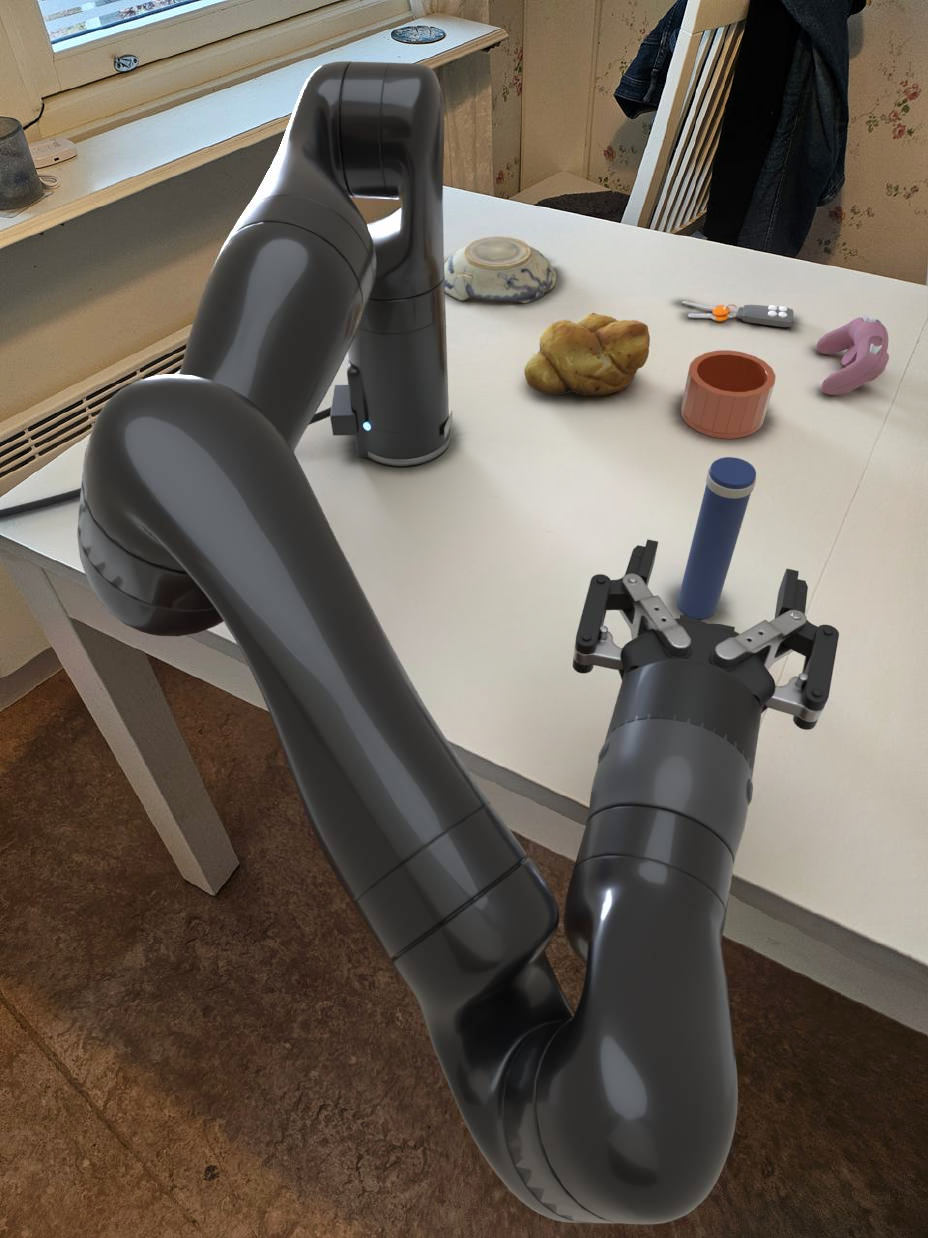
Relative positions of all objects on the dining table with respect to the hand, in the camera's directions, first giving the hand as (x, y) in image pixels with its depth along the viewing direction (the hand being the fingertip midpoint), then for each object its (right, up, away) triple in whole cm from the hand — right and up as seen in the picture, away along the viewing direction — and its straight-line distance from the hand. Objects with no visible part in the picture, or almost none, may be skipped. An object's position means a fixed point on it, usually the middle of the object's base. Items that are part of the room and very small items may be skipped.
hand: (719, 564), depth 55 cm
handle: (+3, -2, +18) cm, 18 cm away
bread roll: (-3, +23, +41) cm, 47 cm away
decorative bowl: (-12, +40, +57) cm, 71 cm away
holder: (+11, +18, +36) cm, 42 cm away
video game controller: (+26, +23, +41) cm, 54 cm away
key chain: (+16, +33, +49) cm, 62 cm away
